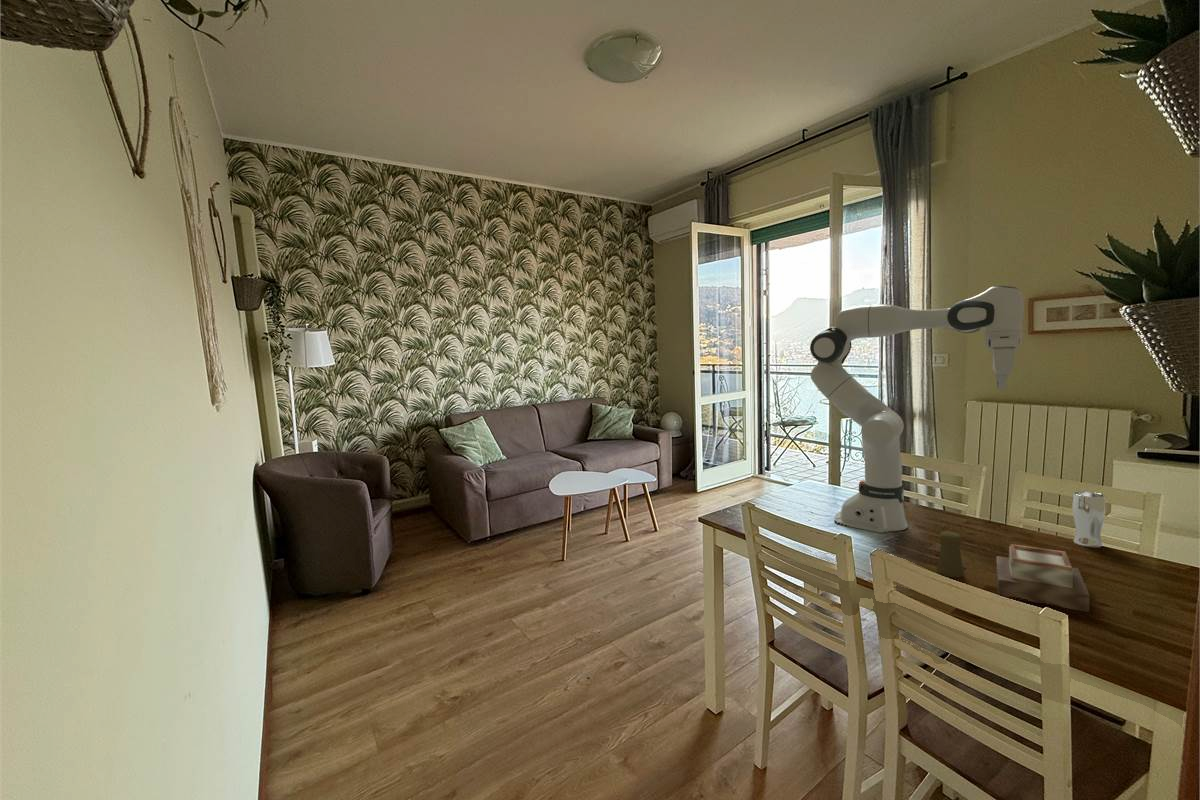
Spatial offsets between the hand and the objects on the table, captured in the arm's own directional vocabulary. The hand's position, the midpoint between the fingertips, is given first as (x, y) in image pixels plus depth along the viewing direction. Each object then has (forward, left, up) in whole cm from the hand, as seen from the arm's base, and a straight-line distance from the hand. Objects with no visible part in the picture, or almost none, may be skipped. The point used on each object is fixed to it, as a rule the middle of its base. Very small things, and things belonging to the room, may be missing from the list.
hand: (1001, 388), depth 149 cm
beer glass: (+21, +9, -47) cm, 53 cm away
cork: (-11, -31, -47) cm, 58 cm away
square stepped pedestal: (+7, -32, -47) cm, 57 cm away
